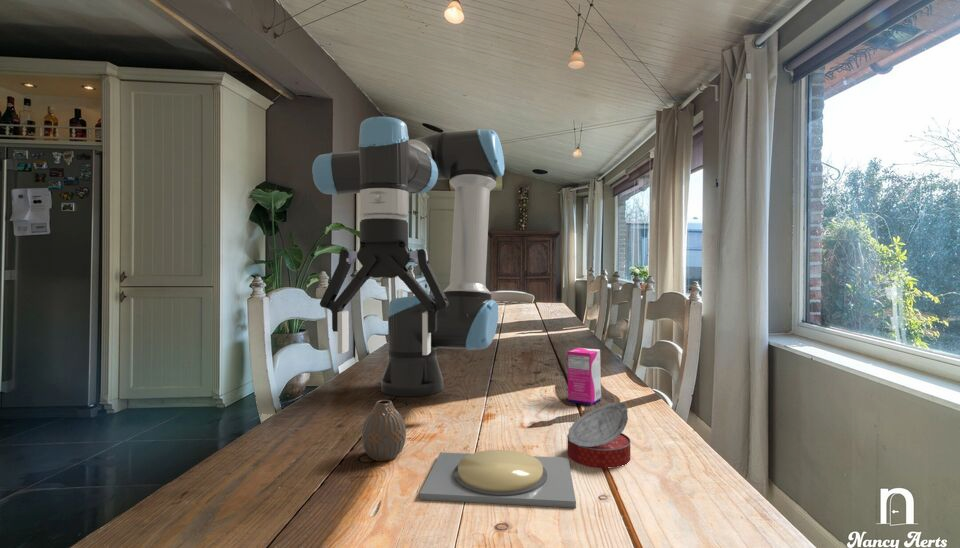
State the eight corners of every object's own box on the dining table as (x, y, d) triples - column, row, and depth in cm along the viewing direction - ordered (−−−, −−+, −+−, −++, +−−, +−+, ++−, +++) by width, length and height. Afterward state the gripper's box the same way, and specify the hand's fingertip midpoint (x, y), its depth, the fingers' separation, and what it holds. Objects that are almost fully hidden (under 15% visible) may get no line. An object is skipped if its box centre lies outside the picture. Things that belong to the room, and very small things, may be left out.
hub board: (440, 457, 77) (440, 444, 77) (568, 462, 75) (568, 450, 75) (419, 499, 63) (419, 484, 63) (575, 507, 61) (575, 491, 61)
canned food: (625, 497, 74) (630, 451, 69) (560, 480, 78) (560, 435, 73) (633, 441, 83) (638, 397, 78) (574, 427, 87) (575, 385, 82)
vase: (396, 467, 74) (396, 409, 74) (354, 463, 75) (353, 406, 75) (412, 450, 81) (411, 397, 80) (372, 446, 82) (372, 394, 82)
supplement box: (577, 395, 114) (577, 347, 114) (601, 400, 110) (602, 349, 110) (566, 401, 109) (566, 350, 109) (591, 406, 106) (591, 353, 105)
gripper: (297, 217, 75) (298, 355, 75) (458, 215, 72) (458, 358, 72) (318, 221, 82) (319, 347, 83) (465, 220, 80) (465, 350, 80)
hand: (384, 353), depth 77 cm, fingers open, 13 cm apart
